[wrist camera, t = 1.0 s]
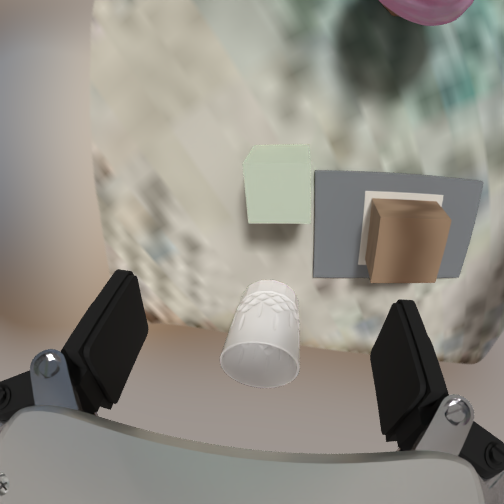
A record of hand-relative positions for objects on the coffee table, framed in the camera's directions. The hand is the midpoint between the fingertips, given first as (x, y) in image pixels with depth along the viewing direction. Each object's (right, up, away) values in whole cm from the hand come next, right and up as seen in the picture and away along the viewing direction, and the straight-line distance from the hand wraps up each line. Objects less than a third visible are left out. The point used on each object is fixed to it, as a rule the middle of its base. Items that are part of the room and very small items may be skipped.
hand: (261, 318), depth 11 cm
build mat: (+15, +5, +19) cm, 24 cm away
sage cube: (+3, +10, +18) cm, 20 cm away
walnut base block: (+15, +4, +18) cm, 24 cm away
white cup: (+2, -3, +27) cm, 27 cm away
